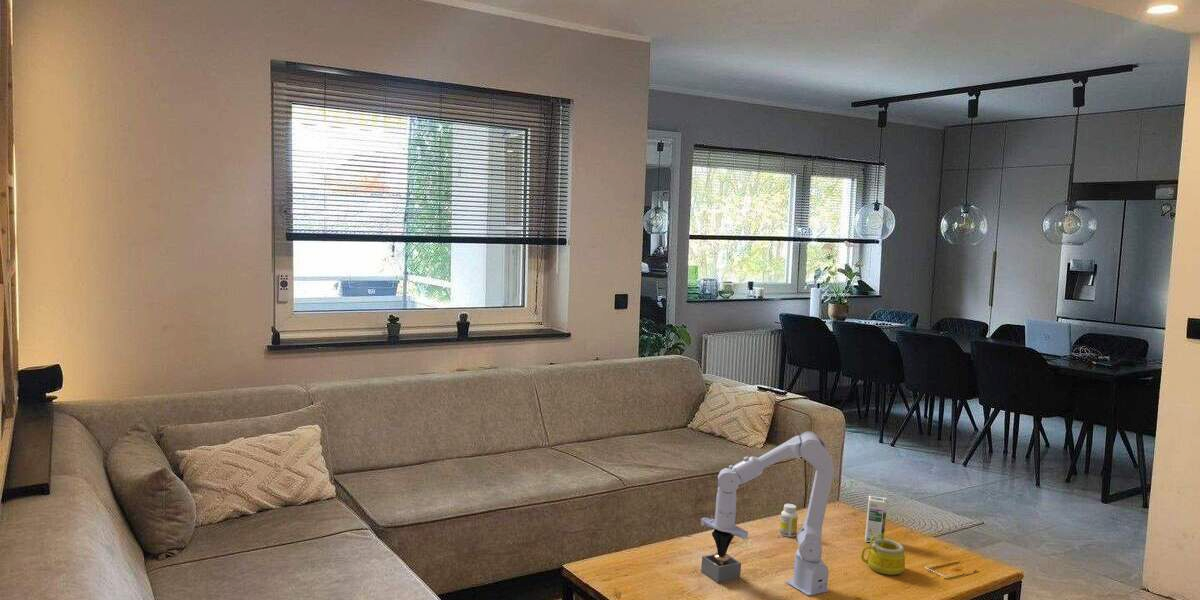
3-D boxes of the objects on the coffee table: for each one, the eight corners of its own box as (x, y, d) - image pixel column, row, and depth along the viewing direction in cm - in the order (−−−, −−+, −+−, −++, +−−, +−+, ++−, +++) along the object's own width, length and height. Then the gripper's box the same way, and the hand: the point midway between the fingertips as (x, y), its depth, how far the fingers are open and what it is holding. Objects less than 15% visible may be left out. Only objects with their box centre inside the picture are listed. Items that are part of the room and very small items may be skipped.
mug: (902, 565, 261) (906, 528, 259) (905, 580, 250) (909, 541, 249) (859, 558, 264) (863, 521, 263) (860, 572, 254) (864, 534, 252)
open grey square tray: (739, 579, 244) (741, 563, 243) (717, 584, 240) (719, 567, 239) (722, 568, 251) (724, 552, 250) (700, 572, 247) (702, 556, 246)
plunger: (735, 575, 244) (736, 557, 244) (718, 578, 241) (719, 561, 241) (722, 566, 249) (723, 549, 249) (706, 569, 246) (707, 552, 246)
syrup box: (864, 542, 277) (869, 499, 276) (864, 536, 283) (869, 494, 281) (883, 545, 276) (887, 502, 274) (882, 539, 281) (887, 497, 280)
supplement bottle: (795, 531, 283) (797, 503, 282) (797, 538, 277) (799, 509, 276) (778, 530, 283) (781, 502, 282) (780, 536, 278) (782, 507, 277)
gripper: (754, 514, 242) (750, 559, 243) (711, 500, 251) (707, 544, 252) (742, 520, 236) (738, 566, 238) (698, 506, 245) (694, 550, 247)
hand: (721, 555), depth 245 cm, fingers closed, pressing on plunger
